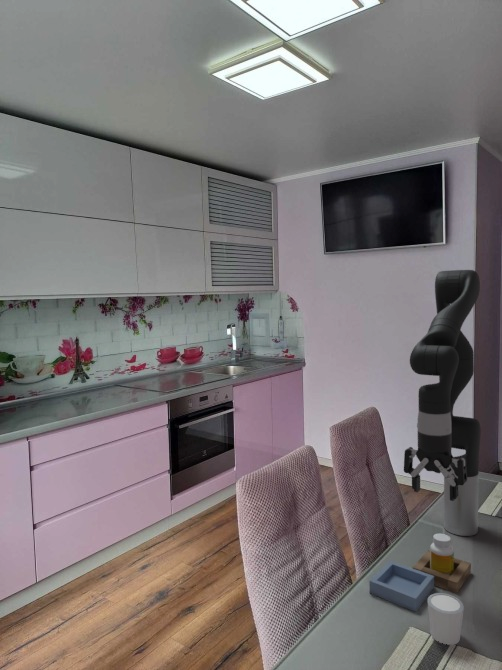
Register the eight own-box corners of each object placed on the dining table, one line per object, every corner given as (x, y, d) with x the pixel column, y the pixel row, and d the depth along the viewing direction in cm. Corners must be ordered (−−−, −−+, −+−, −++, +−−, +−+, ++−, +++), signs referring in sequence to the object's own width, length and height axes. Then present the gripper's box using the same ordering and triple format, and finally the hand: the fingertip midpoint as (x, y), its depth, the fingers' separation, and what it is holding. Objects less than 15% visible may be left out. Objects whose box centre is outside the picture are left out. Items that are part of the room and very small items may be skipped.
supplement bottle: (455, 582, 119) (455, 543, 118) (431, 580, 120) (432, 541, 119) (451, 570, 124) (451, 532, 123) (428, 568, 125) (428, 531, 124)
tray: (390, 572, 124) (390, 560, 124) (434, 588, 117) (434, 576, 116) (369, 593, 115) (369, 580, 115) (415, 611, 108) (415, 598, 108)
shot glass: (460, 651, 96) (460, 617, 96) (423, 639, 100) (423, 606, 99) (465, 631, 102) (466, 598, 101) (431, 620, 106) (431, 588, 105)
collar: (428, 559, 129) (428, 549, 129) (470, 572, 123) (470, 563, 122) (412, 577, 121) (412, 567, 121) (456, 593, 115) (456, 582, 114)
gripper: (471, 430, 115) (470, 497, 117) (411, 421, 124) (411, 483, 126) (460, 438, 109) (460, 509, 111) (398, 428, 119) (399, 493, 120)
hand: (434, 495), depth 119 cm, fingers open, 8 cm apart
